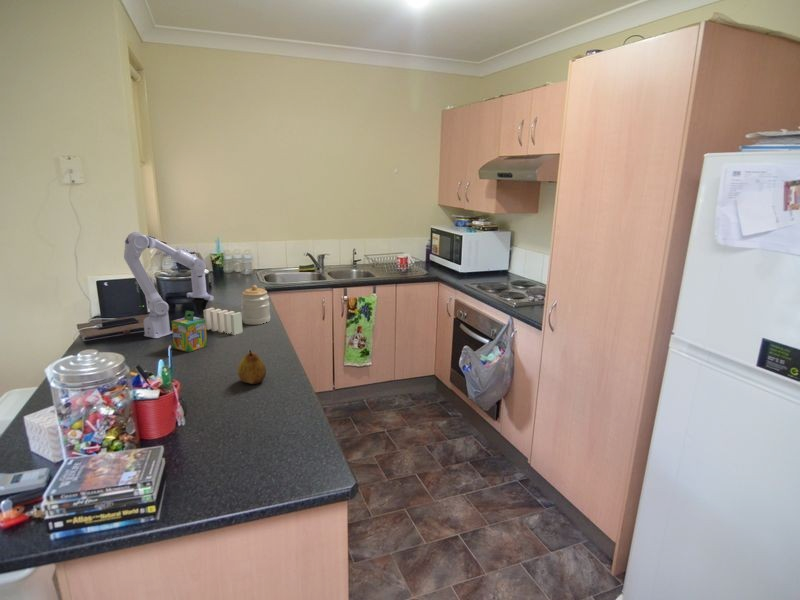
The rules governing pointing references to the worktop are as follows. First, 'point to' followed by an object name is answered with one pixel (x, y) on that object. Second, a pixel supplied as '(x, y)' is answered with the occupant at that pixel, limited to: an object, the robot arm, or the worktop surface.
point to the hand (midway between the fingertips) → (201, 314)
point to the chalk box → (189, 333)
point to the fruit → (251, 369)
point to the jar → (255, 306)
